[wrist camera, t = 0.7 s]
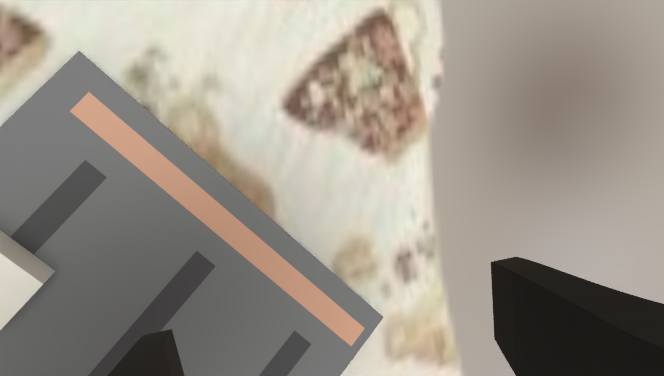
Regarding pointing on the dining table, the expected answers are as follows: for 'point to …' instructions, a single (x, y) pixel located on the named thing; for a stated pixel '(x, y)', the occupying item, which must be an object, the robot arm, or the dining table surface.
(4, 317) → the handle
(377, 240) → the dining table surface
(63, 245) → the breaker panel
